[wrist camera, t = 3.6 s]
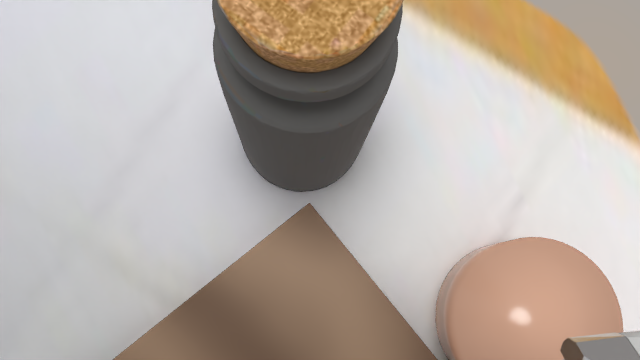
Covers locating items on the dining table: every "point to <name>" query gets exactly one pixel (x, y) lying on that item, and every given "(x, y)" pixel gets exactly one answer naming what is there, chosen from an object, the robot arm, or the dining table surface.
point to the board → (286, 307)
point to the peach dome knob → (523, 301)
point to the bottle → (305, 81)
